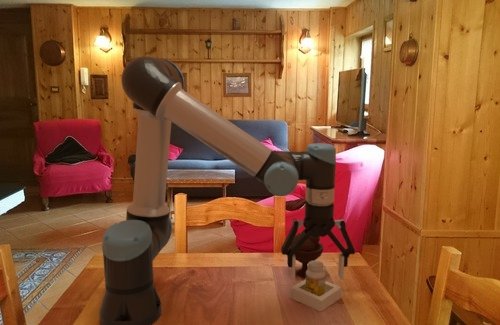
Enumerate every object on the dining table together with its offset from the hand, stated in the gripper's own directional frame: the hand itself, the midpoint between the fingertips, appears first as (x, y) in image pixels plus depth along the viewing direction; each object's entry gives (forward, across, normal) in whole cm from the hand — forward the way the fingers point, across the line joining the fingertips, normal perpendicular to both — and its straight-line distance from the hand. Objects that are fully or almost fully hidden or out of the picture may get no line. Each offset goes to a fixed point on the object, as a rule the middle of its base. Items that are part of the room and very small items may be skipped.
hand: (316, 277), depth 114 cm
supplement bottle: (+6, 0, 0) cm, 6 cm away
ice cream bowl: (+6, -1, +14) cm, 16 cm away
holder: (+6, 0, 0) cm, 6 cm away
